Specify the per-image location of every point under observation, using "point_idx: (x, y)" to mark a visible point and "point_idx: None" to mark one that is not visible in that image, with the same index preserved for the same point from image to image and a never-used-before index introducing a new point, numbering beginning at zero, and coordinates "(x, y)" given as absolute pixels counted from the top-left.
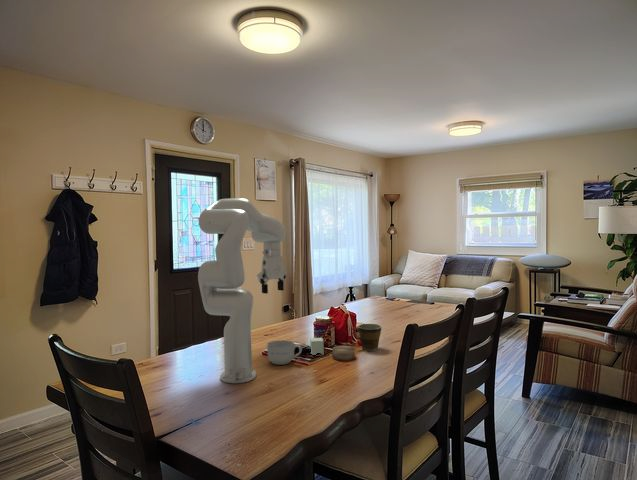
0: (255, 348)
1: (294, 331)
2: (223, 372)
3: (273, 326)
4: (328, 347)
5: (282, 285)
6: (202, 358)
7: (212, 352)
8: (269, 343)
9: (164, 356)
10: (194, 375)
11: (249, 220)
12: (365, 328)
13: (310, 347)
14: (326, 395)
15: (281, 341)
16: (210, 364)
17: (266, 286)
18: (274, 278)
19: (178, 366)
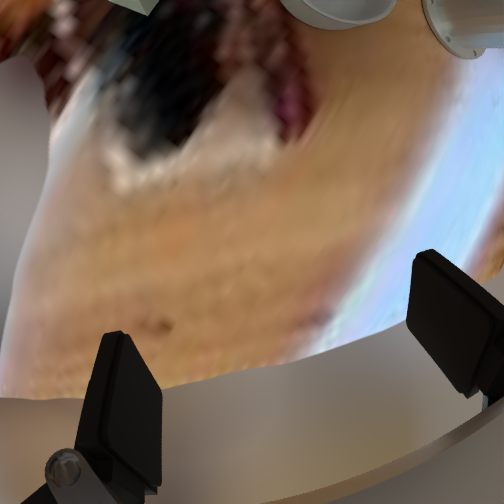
0: (291, 198)
1: (56, 307)
2: (477, 55)
3: None
4: (56, 34)
5: (109, 387)
6: (445, 215)
7: (405, 249)
8: (371, 18)
9: None
10: (500, 115)
11: None
12: None
13: (147, 6)
14: None
15: (310, 4)
16: (459, 153)
17: (490, 300)
18: (487, 426)
19: (492, 197)
